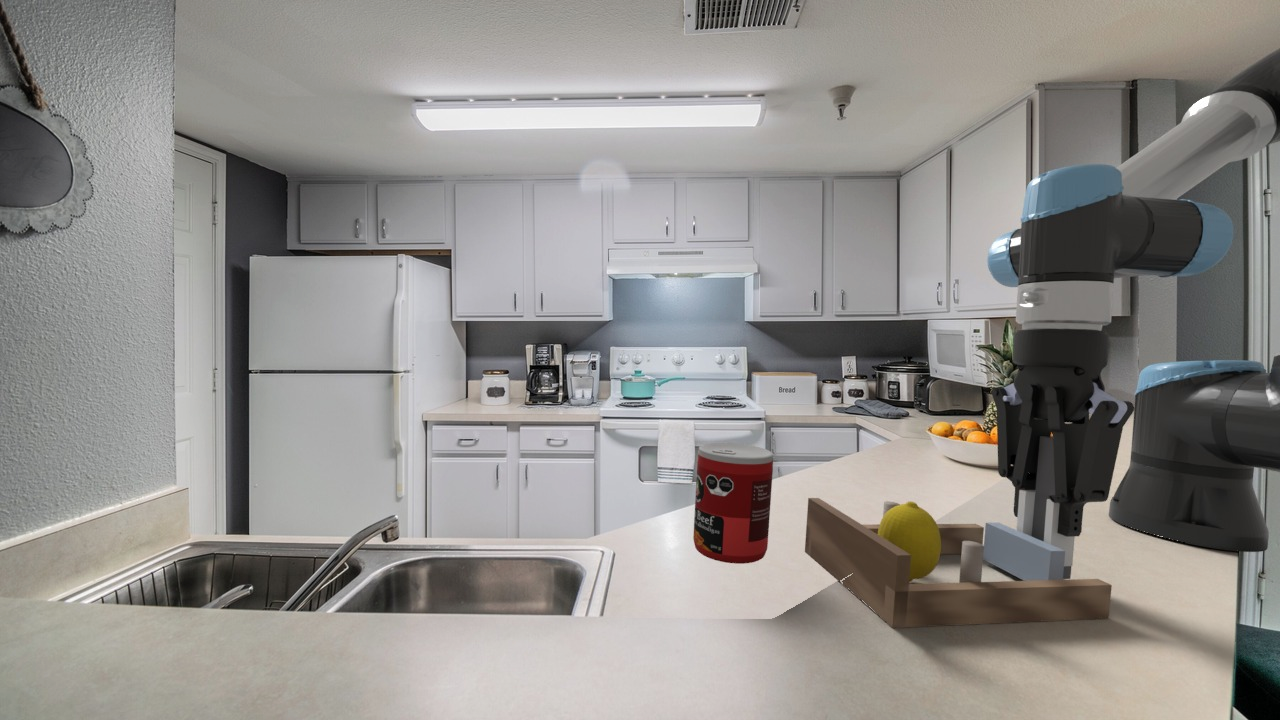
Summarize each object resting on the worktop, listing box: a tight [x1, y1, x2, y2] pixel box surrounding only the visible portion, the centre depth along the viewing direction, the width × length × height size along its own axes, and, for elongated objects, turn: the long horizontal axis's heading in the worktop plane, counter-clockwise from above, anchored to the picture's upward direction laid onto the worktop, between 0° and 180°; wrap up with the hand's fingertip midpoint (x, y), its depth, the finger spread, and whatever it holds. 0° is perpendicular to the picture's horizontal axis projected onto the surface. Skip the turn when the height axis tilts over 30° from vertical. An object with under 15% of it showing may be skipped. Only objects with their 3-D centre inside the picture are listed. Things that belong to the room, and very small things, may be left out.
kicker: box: [983, 435, 1072, 581], centre depth 54 cm, size 6×8×14 cm
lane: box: [804, 497, 1113, 629], centre depth 52 cm, size 21×15×6 cm
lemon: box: [878, 500, 941, 583], centre depth 52 cm, size 6×6×8 cm
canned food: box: [692, 442, 774, 565], centre depth 58 cm, size 8×8×11 cm
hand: (1042, 557), depth 54 cm, fingers closed on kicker, 2 cm apart
